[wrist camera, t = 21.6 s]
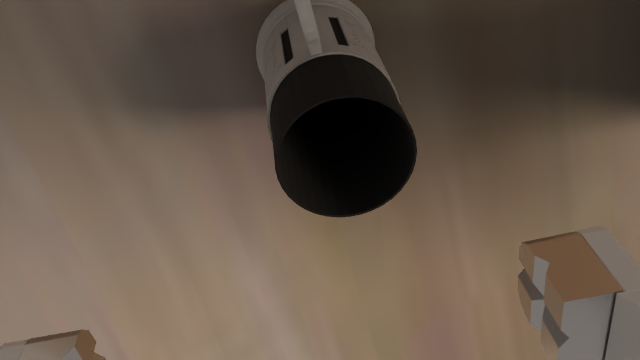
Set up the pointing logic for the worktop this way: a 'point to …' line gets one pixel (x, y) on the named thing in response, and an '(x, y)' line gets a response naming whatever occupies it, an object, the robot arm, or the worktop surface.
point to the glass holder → (332, 109)
